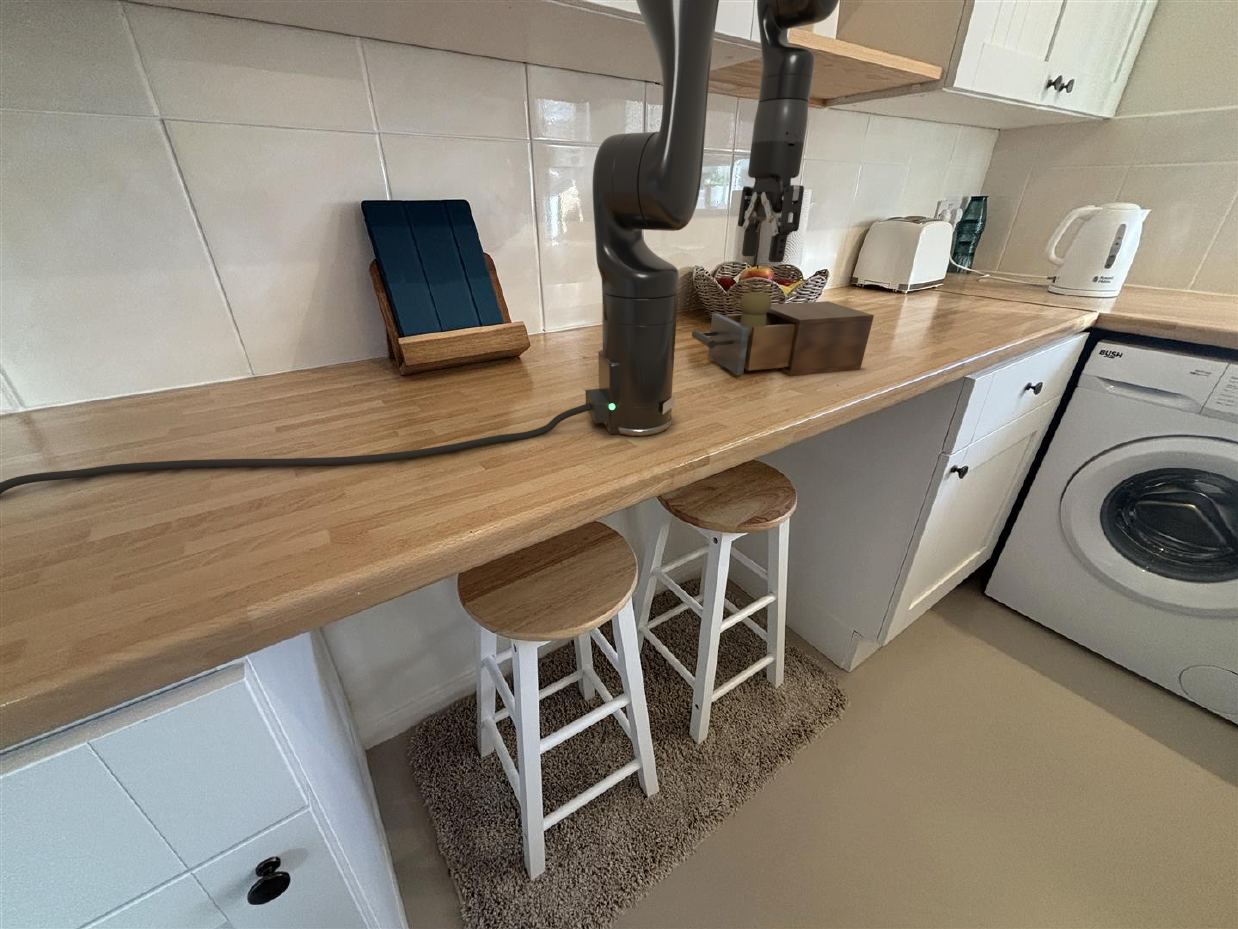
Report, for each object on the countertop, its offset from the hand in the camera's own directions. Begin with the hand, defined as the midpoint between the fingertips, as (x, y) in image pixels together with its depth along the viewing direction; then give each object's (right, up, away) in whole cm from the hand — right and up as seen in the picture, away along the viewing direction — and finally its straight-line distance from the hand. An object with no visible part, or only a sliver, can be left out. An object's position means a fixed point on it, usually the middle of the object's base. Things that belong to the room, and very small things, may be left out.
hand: (761, 258), depth 80 cm
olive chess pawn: (0, -14, +8) cm, 17 cm away
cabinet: (+12, -14, +12) cm, 22 cm away
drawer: (-1, -15, +8) cm, 17 cm away
